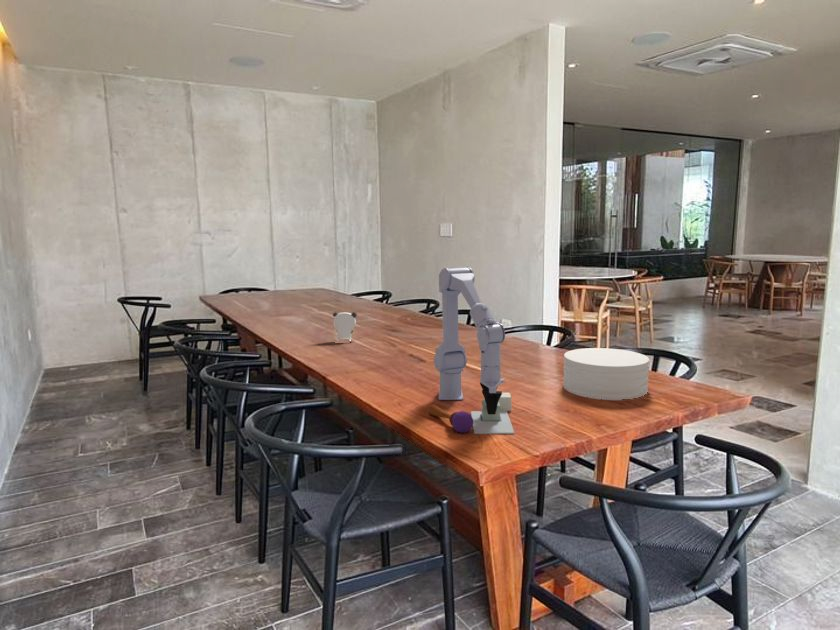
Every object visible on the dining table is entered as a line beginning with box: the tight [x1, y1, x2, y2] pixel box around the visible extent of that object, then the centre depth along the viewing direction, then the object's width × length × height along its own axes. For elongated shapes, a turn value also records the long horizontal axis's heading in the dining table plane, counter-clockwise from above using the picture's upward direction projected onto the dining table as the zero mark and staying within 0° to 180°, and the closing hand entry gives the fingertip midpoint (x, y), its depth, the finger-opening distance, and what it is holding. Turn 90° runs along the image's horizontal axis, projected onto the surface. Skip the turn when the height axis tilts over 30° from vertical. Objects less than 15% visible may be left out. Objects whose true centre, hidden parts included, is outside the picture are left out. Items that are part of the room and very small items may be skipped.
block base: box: [481, 400, 500, 421], centre depth 164 cm, size 5×5×4 cm
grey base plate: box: [470, 410, 515, 435], centre depth 162 cm, size 18×11×1 cm, turn 178°
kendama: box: [427, 404, 473, 434], centre depth 161 cm, size 6×6×20 cm
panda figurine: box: [332, 311, 358, 341], centre depth 281 cm, size 12×11×15 cm
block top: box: [499, 392, 512, 412], centre depth 174 cm, size 5×5×4 cm
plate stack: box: [562, 347, 650, 401], centre depth 194 cm, size 28×28×12 cm
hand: (490, 409), depth 164 cm, fingers open, 7 cm apart
